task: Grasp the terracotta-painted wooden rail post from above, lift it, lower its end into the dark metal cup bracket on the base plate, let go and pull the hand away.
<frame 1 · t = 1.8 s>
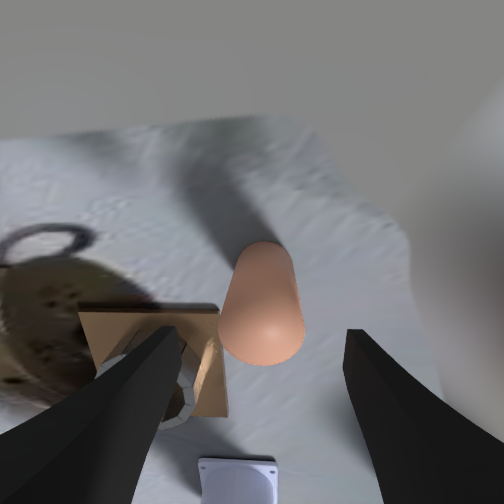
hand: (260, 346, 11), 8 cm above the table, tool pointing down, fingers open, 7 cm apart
cup bracket: (161, 363, 22), on the table
rail post: (264, 267, 19), on the table
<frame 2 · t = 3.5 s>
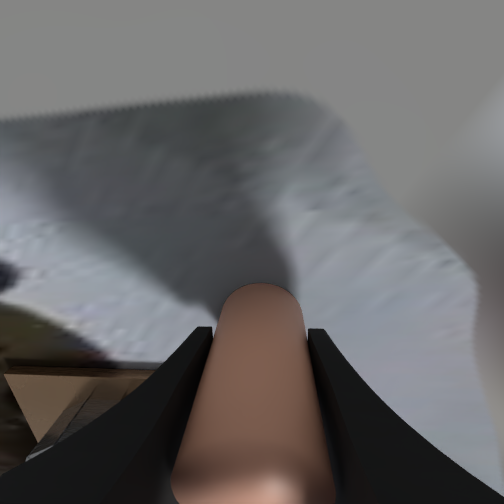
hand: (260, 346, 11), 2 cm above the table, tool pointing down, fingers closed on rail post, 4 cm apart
cup bracket: (124, 434, 17), on the table
rail post: (261, 319, 13), on the table, touching gripper
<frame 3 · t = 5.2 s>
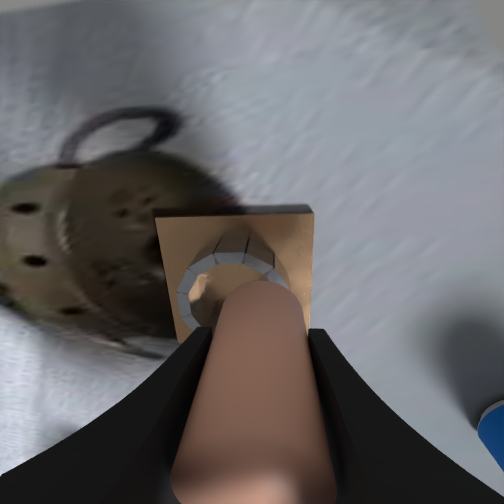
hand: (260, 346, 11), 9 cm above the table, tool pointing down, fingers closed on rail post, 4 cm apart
cup bracket: (238, 282, 20), on the table
rail post: (261, 317, 13), point 7 cm above the table, touching gripper
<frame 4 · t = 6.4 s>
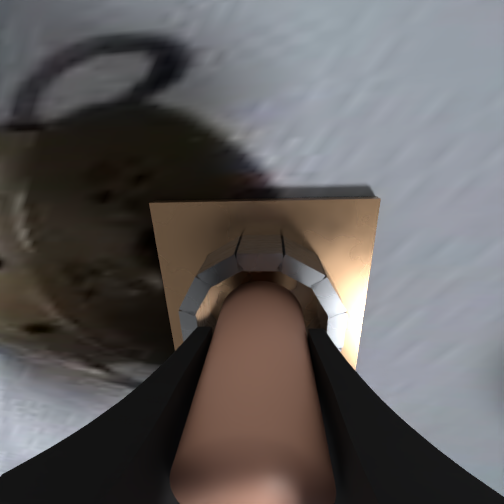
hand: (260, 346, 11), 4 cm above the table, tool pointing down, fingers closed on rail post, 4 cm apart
cup bracket: (263, 294, 15), on the table
rail post: (261, 317, 13), point 2 cm above the table, touching gripper
when the fingers open (4 cm above the table, at t = 7.3 s): rail post drops 1 cm, resting on cup bracket.
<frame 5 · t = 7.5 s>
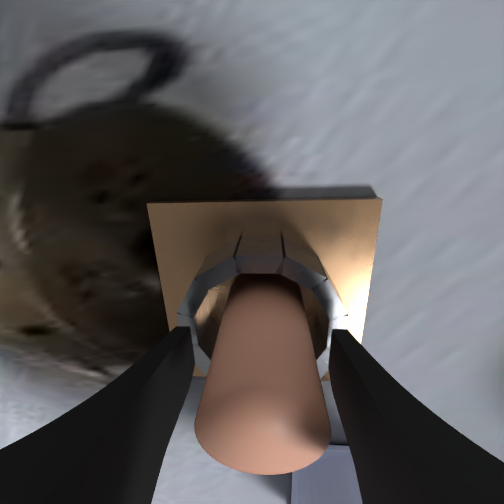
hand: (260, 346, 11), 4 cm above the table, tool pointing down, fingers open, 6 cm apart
cup bracket: (262, 296, 15), on the table
rail post: (264, 301, 14), point 1 cm above the table, touching cup bracket
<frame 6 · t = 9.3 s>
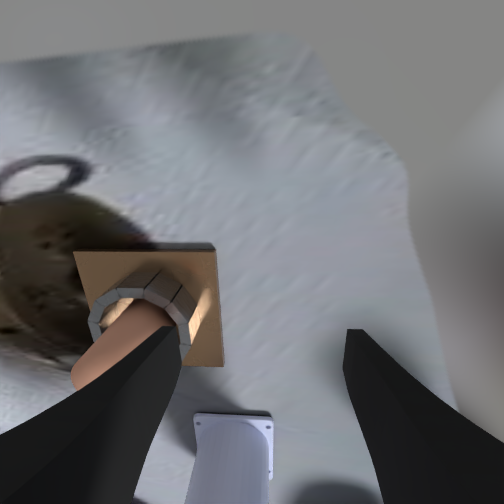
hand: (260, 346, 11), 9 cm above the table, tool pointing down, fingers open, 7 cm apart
cup bracket: (156, 309, 22), on the table
rail post: (155, 312, 22), point 1 cm above the table, touching cup bracket
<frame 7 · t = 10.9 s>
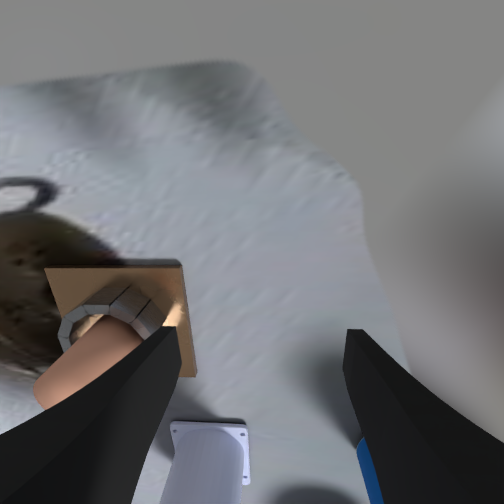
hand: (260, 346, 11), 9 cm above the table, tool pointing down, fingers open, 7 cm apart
cup bracket: (128, 322, 23), on the table
rail post: (126, 325, 22), point 1 cm above the table, touching cup bracket
beverage can: (386, 439, 26), on the table
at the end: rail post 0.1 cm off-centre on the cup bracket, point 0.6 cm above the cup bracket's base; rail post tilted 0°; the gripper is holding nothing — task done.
